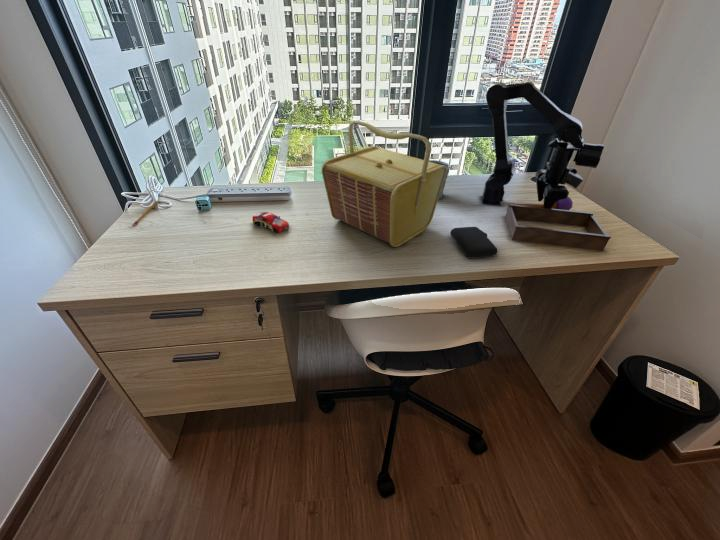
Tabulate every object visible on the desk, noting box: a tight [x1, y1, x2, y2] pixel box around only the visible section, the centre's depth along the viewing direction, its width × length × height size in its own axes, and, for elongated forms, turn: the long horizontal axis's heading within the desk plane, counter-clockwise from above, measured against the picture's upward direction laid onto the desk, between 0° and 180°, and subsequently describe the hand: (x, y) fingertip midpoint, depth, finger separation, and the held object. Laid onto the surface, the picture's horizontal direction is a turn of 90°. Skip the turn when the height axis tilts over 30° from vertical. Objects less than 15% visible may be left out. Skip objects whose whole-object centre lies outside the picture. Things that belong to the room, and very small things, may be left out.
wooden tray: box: [504, 203, 612, 252], centre depth 104 cm, size 26×16×5 cm, turn 78°
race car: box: [252, 211, 290, 234], centre depth 105 cm, size 13×5×4 cm, turn 57°
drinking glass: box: [429, 159, 451, 200], centre depth 124 cm, size 10×10×12 cm
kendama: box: [512, 196, 574, 210], centre depth 116 cm, size 6×6×20 cm
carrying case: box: [450, 226, 498, 259], centre depth 97 cm, size 11×3×15 cm
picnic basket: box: [321, 120, 447, 248], centre depth 99 cm, size 29×26×30 cm
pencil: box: [132, 200, 160, 227], centre depth 111 cm, size 19×1×1 cm, turn 3°
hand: (542, 206), depth 116 cm, fingers open, 9 cm apart
